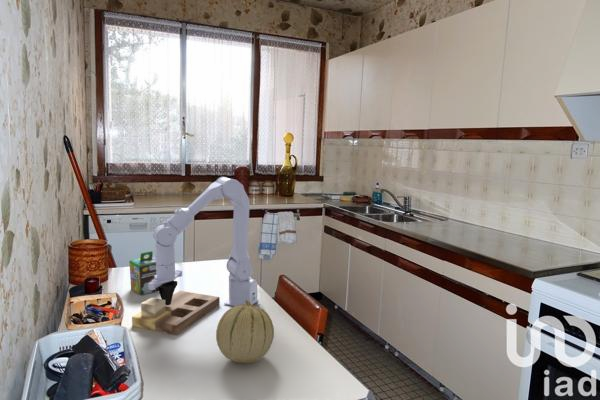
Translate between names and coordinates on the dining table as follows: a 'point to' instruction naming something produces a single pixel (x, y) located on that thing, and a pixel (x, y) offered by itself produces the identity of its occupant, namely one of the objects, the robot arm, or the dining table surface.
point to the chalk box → (142, 273)
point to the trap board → (179, 313)
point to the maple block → (153, 307)
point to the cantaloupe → (245, 333)
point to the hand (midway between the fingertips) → (166, 304)
